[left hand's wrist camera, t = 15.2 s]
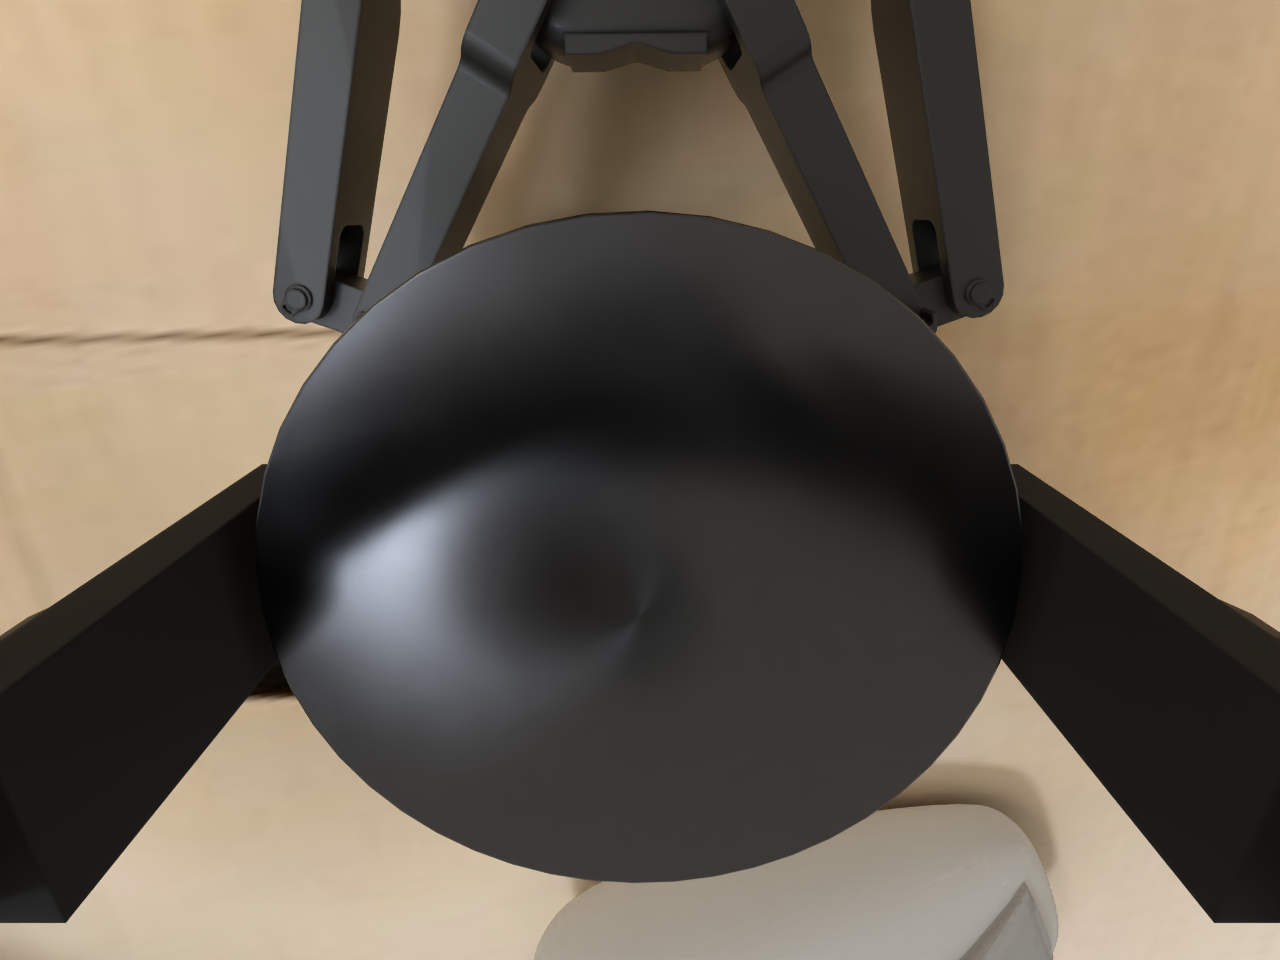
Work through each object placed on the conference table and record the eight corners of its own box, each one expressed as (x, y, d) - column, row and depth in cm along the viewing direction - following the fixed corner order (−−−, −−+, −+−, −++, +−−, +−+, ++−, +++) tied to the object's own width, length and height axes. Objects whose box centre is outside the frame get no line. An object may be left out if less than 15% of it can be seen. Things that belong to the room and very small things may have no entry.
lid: (263, 202, 10) (172, 199, 8) (1027, 219, 10) (1121, 221, 8) (362, 787, 14) (318, 879, 12) (902, 795, 14) (944, 889, 12)
